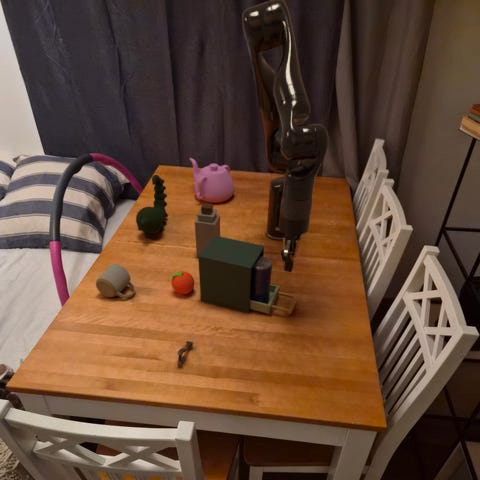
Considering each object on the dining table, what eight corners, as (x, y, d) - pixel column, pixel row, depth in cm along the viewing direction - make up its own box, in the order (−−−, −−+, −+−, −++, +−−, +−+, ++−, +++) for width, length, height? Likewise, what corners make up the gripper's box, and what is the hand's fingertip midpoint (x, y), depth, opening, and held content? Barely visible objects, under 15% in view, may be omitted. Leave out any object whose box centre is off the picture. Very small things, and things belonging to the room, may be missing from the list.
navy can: (251, 289, 124) (253, 253, 115) (271, 294, 122) (274, 258, 114) (244, 302, 119) (246, 265, 111) (265, 307, 118) (268, 270, 109)
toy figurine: (152, 217, 163) (132, 245, 143) (146, 170, 152) (124, 192, 132) (175, 219, 162) (158, 247, 142) (171, 171, 151) (152, 194, 131)
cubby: (261, 289, 126) (264, 245, 115) (248, 313, 118) (250, 268, 107) (216, 279, 130) (215, 235, 119) (200, 301, 122) (198, 256, 111)
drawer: (298, 298, 122) (299, 290, 120) (289, 319, 115) (290, 311, 113) (233, 282, 127) (233, 274, 125) (220, 302, 120) (220, 293, 118)
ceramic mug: (96, 295, 122) (91, 275, 117) (111, 280, 128) (107, 260, 123) (127, 304, 120) (122, 283, 115) (141, 288, 126) (137, 268, 120)
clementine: (169, 300, 122) (167, 281, 117) (168, 286, 127) (165, 267, 122) (196, 297, 123) (194, 278, 118) (193, 283, 128) (192, 265, 123)
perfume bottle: (215, 260, 138) (214, 211, 126) (196, 257, 139) (193, 209, 127) (220, 249, 143) (219, 202, 131) (202, 247, 144) (199, 199, 132)
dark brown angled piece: (174, 367, 101) (175, 350, 99) (185, 355, 108) (186, 339, 107) (180, 368, 100) (182, 352, 99) (191, 356, 108) (193, 341, 106)
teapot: (207, 180, 187) (205, 150, 178) (245, 193, 178) (246, 161, 169) (174, 197, 174) (171, 165, 164) (214, 211, 164) (213, 178, 155)
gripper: (287, 198, 105) (281, 255, 116) (273, 220, 95) (268, 280, 107) (316, 203, 103) (307, 260, 114) (304, 227, 93) (295, 286, 105)
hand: (288, 270), depth 110 cm, fingers closed
